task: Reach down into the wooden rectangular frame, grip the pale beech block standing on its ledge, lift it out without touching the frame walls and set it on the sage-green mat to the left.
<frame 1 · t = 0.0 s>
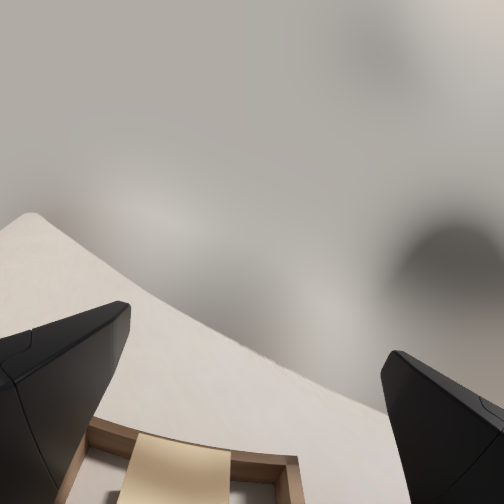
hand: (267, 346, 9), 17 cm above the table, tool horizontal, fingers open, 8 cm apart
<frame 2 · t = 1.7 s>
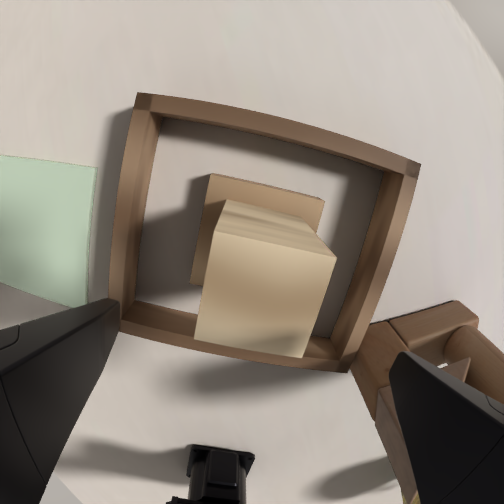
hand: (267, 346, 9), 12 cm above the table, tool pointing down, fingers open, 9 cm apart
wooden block: (404, 330, 24), on the table
green mat: (32, 229, 20), on the table
beech block: (255, 243, 19), point 1 cm above the table, touching wooden rectangular frame
wooden rectangular frame: (254, 237, 21), on the table
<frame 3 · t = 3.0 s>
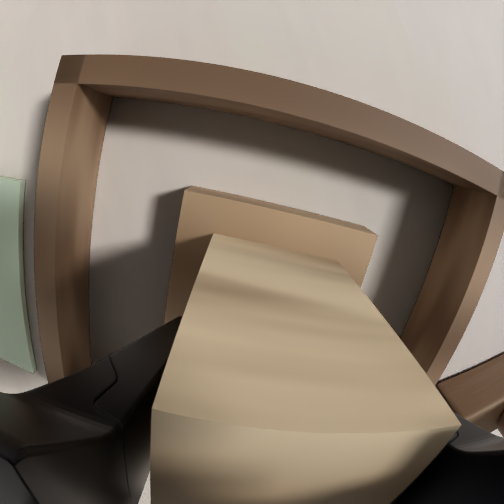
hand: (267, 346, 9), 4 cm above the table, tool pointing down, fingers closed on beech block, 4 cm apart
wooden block: (451, 390, 16), on the table
beech block: (262, 304, 12), point 1 cm above the table, touching gripper, wooden rectangular frame
wooden rectangular frame: (260, 288, 13), on the table
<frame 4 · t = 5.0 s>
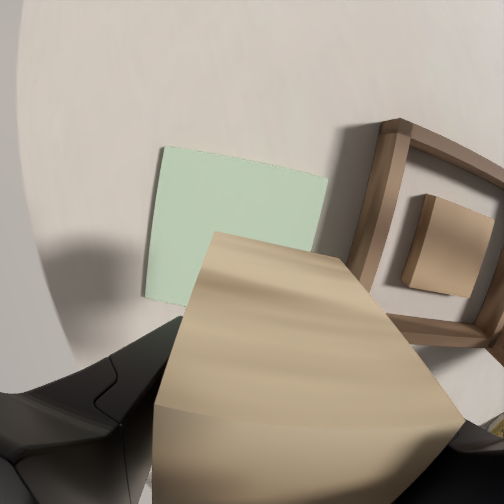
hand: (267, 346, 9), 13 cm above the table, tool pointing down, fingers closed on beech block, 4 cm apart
green mat: (230, 239, 22), on the table
ceramic cup: (500, 425, 31), on the table
beech block: (263, 302, 12), point 11 cm above the table, touching gripper
wooden rectangular frame: (446, 246, 22), on the table
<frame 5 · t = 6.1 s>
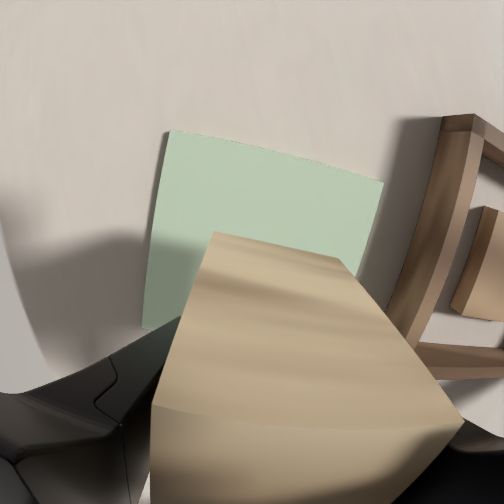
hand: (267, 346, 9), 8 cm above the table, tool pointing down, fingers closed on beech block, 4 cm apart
green mat: (255, 257, 16), on the table
beech block: (262, 302, 12), point 5 cm above the table, touching gripper
wooden rectangular frame: (497, 266, 17), on the table
when the fingers open (4 cm above the table, at t = 7.1 s): beech block drops 1 cm, resting on green mat.
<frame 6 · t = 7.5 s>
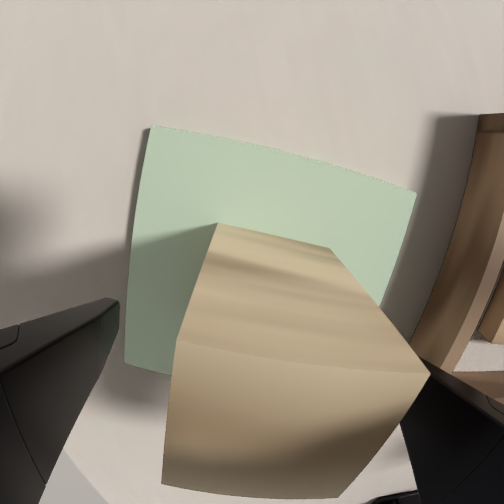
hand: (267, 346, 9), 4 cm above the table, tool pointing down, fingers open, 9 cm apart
green mat: (259, 285, 13), on the table
beech block: (261, 287, 13), resting on green mat
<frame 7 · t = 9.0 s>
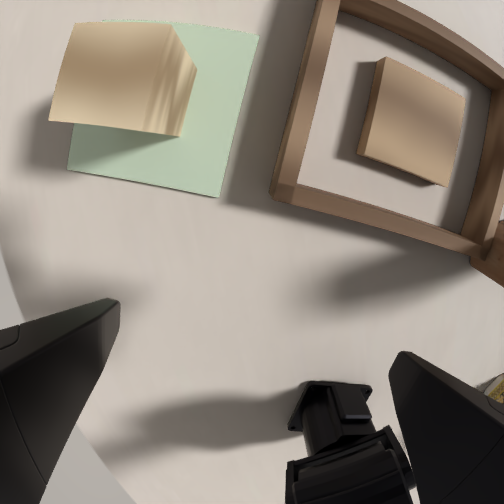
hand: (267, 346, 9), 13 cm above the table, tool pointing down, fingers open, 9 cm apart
green mat: (155, 99, 18), on the table
ceramic cup: (498, 392, 29), on the table
beech block: (154, 97, 17), resting on green mat
wooden rectangular frame: (410, 123, 19), on the table
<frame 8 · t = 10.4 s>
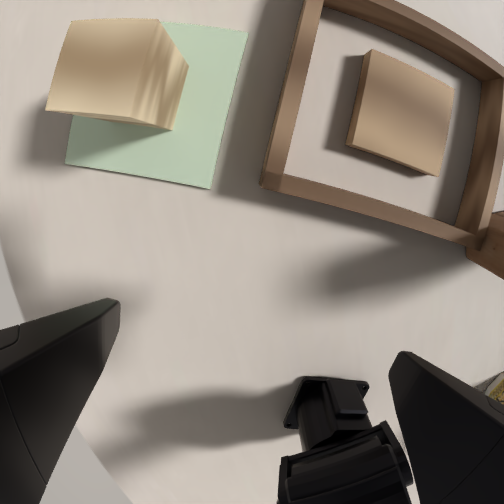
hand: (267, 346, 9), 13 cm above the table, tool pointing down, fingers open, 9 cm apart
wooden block: (502, 228, 22), on the table
green mat: (149, 95, 18), on the table
ceramic cup: (500, 391, 29), on the table
beech block: (148, 93, 18), resting on green mat
wooden rectangular frame: (399, 114, 19), on the table
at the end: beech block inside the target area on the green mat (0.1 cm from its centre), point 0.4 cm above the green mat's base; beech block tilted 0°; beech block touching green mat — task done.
